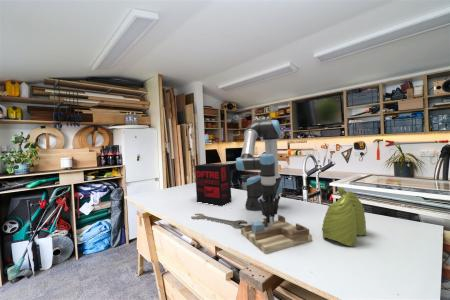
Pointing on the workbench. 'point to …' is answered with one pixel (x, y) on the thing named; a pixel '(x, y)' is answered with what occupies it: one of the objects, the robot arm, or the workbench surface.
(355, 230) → the lungs
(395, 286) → the workbench surface
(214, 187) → the product box
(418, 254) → the workbench surface
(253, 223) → the block
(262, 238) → the tan flat ridged piece
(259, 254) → the workbench surface
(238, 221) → the wrench
